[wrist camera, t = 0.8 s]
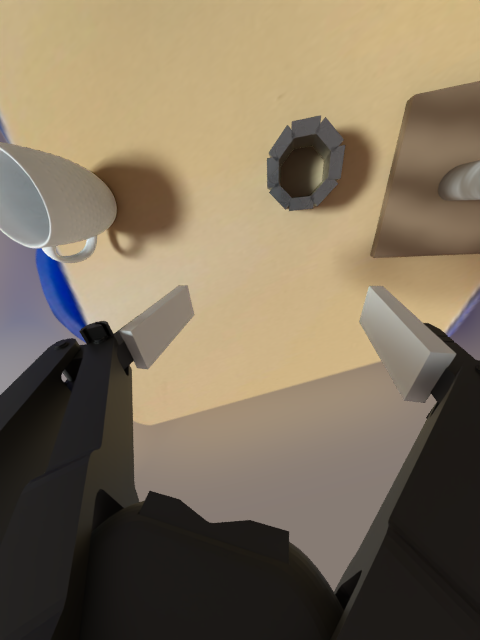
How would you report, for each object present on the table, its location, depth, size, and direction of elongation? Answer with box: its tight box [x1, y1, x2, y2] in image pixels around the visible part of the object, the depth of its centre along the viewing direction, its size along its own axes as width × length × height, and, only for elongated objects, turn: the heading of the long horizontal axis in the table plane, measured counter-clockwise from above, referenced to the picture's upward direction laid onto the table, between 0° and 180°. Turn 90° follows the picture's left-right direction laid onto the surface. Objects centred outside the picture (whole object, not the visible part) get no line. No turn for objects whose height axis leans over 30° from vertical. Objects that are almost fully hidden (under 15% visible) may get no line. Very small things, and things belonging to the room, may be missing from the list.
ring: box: [267, 116, 345, 211], centre depth 23 cm, size 8×8×5 cm
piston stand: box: [370, 81, 480, 258], centre depth 19 cm, size 16×13×8 cm
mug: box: [0, 142, 117, 263], centre depth 29 cm, size 15×11×13 cm
